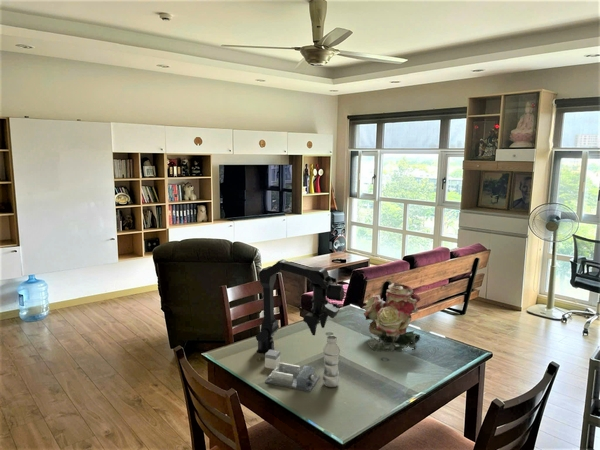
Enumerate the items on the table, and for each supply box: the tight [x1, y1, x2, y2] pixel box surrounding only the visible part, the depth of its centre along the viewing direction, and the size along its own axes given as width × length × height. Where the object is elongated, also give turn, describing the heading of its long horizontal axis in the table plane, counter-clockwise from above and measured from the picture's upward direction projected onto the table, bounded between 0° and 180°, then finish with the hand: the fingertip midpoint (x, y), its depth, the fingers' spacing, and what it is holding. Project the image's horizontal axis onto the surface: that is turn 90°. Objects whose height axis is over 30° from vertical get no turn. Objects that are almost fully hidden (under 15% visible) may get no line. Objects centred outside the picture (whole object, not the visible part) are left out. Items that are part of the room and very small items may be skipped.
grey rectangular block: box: [264, 349, 281, 370], centre depth 189 cm, size 5×5×6 cm
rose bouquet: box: [361, 282, 422, 353], centre depth 210 cm, size 26×29×30 cm
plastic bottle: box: [322, 335, 341, 388], centre depth 172 cm, size 6×7×20 cm
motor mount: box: [265, 361, 321, 393], centre depth 177 cm, size 19×12×5 cm, turn 70°
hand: (318, 331), depth 191 cm, fingers open, 9 cm apart
